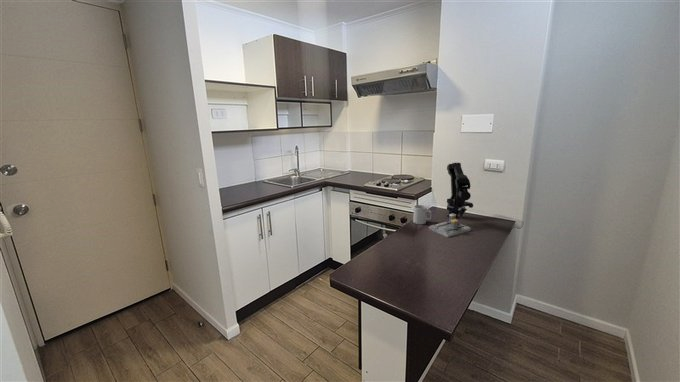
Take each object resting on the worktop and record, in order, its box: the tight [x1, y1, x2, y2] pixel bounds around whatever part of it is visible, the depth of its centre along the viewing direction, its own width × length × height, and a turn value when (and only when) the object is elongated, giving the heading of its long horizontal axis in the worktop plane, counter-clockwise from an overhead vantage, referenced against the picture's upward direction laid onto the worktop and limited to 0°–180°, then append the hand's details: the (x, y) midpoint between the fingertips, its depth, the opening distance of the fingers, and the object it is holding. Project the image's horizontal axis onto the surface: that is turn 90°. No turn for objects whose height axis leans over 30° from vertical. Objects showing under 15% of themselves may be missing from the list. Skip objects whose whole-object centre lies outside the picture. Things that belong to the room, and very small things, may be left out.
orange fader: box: [451, 218, 459, 229], centre depth 171 cm, size 3×2×5 cm
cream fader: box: [448, 213, 456, 223], centre depth 181 cm, size 3×2×5 cm
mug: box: [412, 204, 433, 225], centre depth 188 cm, size 12×8×11 cm
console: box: [428, 220, 471, 238], centre depth 176 cm, size 20×15×3 cm
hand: (459, 218), depth 185 cm, fingers closed
